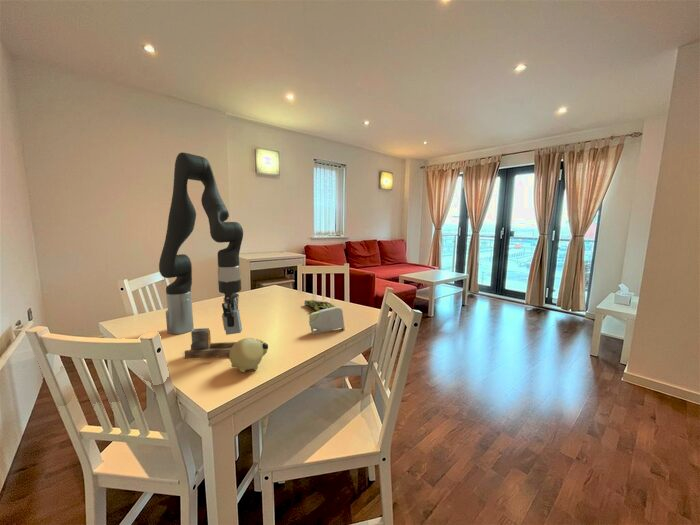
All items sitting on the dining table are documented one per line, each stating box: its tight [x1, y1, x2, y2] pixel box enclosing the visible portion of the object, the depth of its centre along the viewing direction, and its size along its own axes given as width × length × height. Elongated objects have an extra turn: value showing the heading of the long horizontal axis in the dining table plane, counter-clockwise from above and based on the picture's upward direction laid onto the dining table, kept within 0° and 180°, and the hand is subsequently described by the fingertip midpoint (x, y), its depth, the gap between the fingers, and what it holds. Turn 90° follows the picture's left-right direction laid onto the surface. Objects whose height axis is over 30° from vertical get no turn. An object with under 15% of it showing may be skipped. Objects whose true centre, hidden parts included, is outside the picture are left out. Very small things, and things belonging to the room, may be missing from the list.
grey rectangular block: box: [221, 308, 243, 336], centre depth 107 cm, size 5×3×8 cm, turn 98°
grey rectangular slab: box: [308, 305, 346, 335], centre depth 129 cm, size 11×3×15 cm
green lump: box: [304, 299, 336, 312], centre depth 159 cm, size 12×7×25 cm
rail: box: [184, 327, 237, 360], centre depth 107 cm, size 20×7×9 cm, turn 98°
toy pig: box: [229, 337, 269, 373], centre depth 96 cm, size 10×12×11 cm
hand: (232, 324), depth 107 cm, fingers closed on grey rectangular block, 3 cm apart
